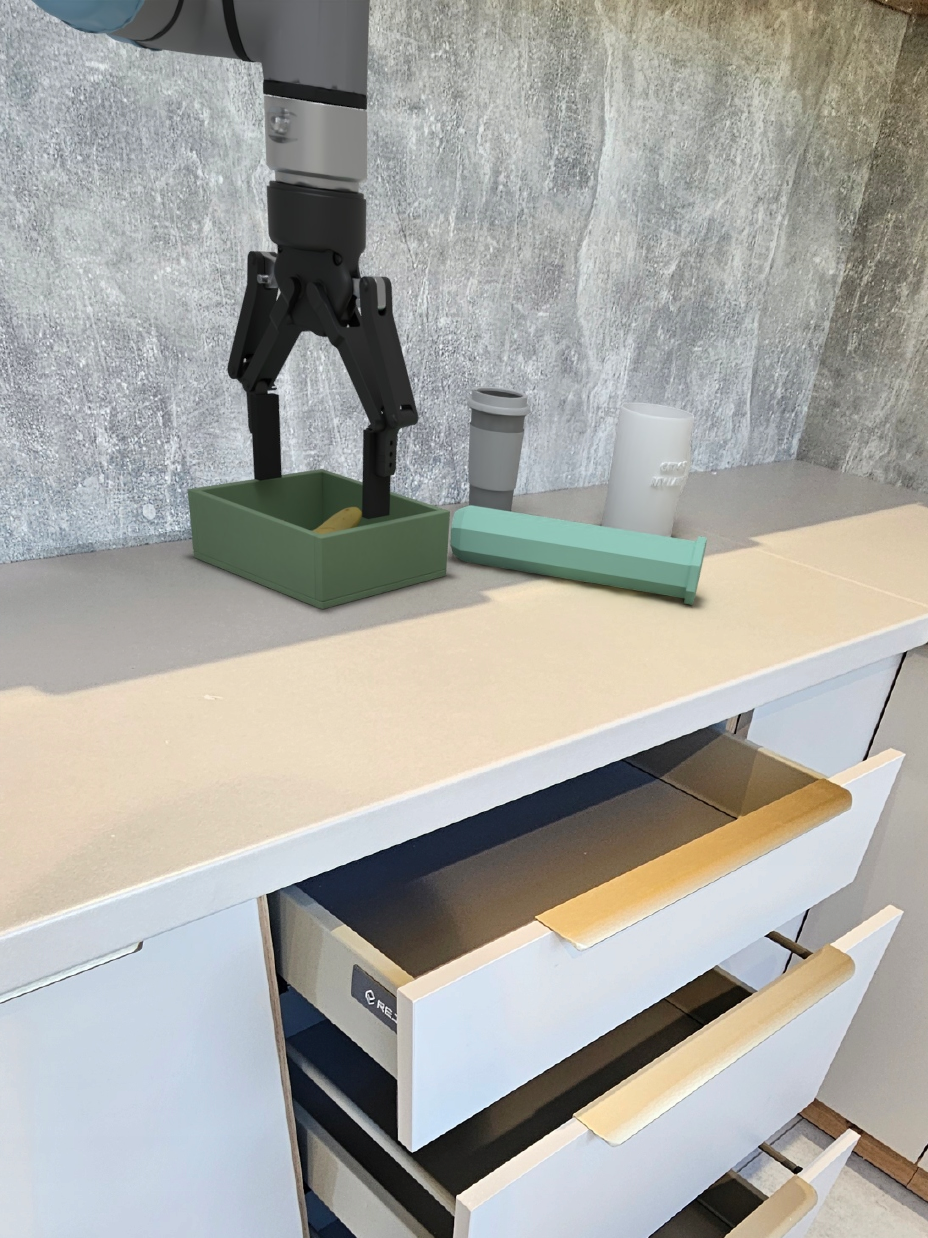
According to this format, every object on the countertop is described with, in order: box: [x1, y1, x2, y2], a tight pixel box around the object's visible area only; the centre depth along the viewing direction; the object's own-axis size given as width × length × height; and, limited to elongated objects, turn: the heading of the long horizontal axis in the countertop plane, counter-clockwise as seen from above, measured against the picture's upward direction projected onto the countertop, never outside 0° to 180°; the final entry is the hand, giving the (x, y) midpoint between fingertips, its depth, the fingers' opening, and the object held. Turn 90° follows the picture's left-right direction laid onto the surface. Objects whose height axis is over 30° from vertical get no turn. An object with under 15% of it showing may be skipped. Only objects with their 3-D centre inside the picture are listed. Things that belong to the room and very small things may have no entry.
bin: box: [187, 468, 451, 610], centre depth 92 cm, size 17×17×6 cm
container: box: [449, 504, 708, 606], centre depth 98 cm, size 6×6×25 cm
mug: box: [601, 402, 695, 537], centre depth 111 cm, size 8×12×12 cm
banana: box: [280, 507, 362, 535], centre depth 93 cm, size 10×2×4 cm, turn 142°
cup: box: [466, 385, 531, 512], centre depth 109 cm, size 7×7×12 cm
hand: (320, 497), depth 90 cm, fingers open, 13 cm apart
